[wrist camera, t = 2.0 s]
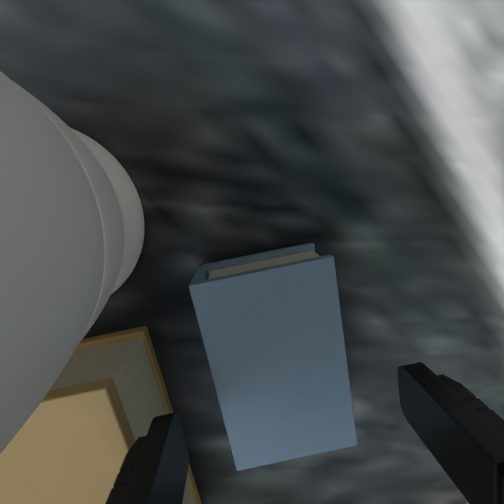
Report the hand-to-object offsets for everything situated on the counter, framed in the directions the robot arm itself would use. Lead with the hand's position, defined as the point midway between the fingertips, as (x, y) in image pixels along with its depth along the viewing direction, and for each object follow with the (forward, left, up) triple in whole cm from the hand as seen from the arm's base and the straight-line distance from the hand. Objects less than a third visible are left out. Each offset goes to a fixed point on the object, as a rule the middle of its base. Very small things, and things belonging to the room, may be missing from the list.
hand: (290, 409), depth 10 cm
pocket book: (0, 0, -5) cm, 5 cm away
